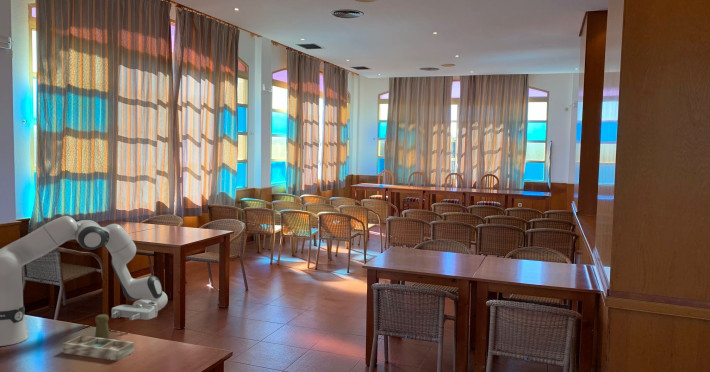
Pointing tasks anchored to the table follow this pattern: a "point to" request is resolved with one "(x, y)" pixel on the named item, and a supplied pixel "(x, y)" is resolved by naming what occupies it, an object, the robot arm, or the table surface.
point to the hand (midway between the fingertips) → (121, 317)
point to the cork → (102, 326)
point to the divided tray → (98, 347)
